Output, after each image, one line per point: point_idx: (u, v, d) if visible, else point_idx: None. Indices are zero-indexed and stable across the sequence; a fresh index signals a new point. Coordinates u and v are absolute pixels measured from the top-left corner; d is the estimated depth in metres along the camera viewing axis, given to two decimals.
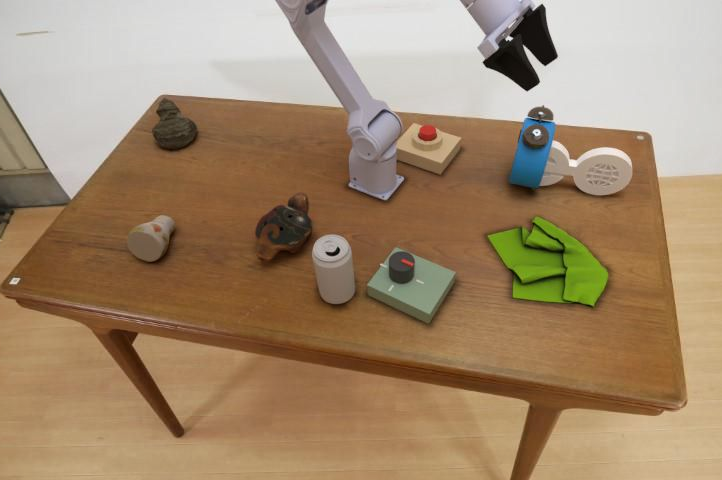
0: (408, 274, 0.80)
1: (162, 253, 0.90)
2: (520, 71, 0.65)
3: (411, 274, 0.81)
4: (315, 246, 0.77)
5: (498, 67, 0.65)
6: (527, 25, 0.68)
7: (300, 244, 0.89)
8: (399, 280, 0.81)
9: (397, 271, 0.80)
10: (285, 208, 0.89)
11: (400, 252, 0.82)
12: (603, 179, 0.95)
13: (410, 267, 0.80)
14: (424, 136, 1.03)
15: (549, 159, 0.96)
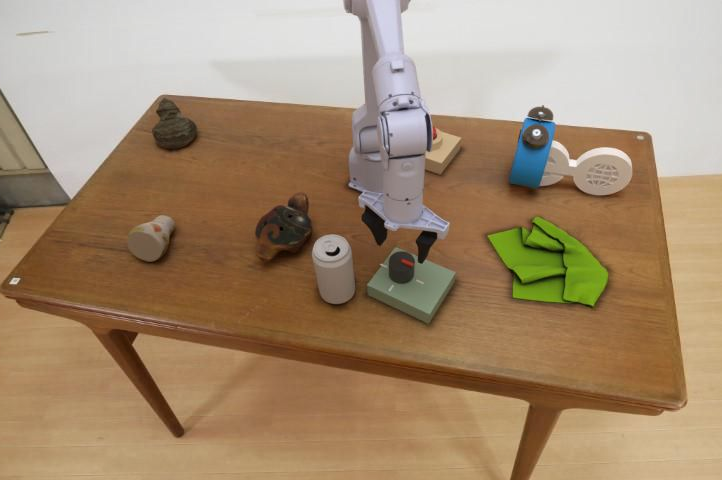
0: (408, 274, 0.80)
1: (162, 253, 0.90)
2: None
3: (411, 274, 0.81)
4: (315, 246, 0.77)
5: None
6: None
7: (300, 244, 0.89)
8: (399, 280, 0.81)
9: (397, 271, 0.80)
10: (285, 208, 0.89)
11: (400, 252, 0.82)
12: (603, 179, 0.95)
13: (410, 267, 0.80)
14: None
15: (549, 159, 0.96)
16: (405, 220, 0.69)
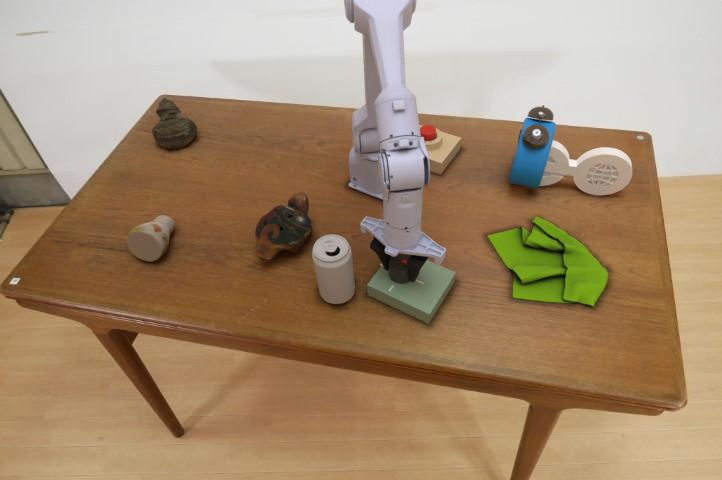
0: (408, 274, 0.80)
1: (162, 253, 0.90)
2: None
3: None
4: (315, 246, 0.77)
5: None
6: None
7: (300, 244, 0.89)
8: (399, 280, 0.81)
9: (396, 271, 0.80)
10: (285, 208, 0.89)
11: None
12: (603, 179, 0.95)
13: None
14: (424, 136, 1.03)
15: (549, 159, 0.96)
16: (404, 246, 0.74)
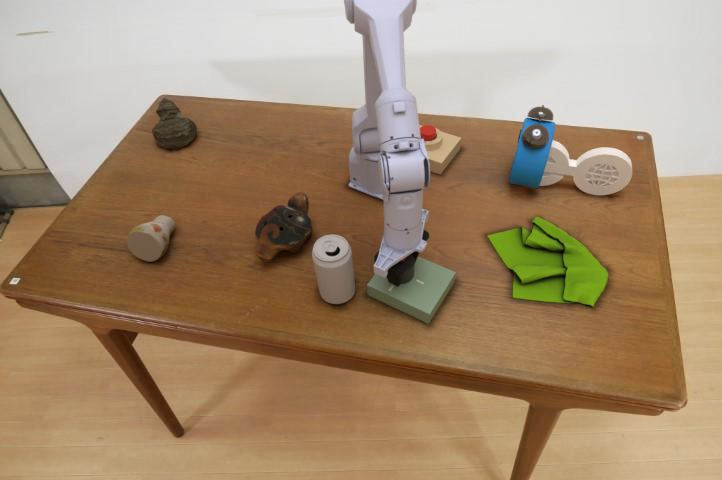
0: None
1: (162, 253, 0.90)
2: (393, 275, 0.79)
3: None
4: (315, 246, 0.77)
5: None
6: None
7: (300, 244, 0.89)
8: None
9: (414, 266, 0.80)
10: (285, 208, 0.89)
11: None
12: (603, 179, 0.95)
13: None
14: (424, 136, 1.03)
15: (549, 159, 0.96)
16: None
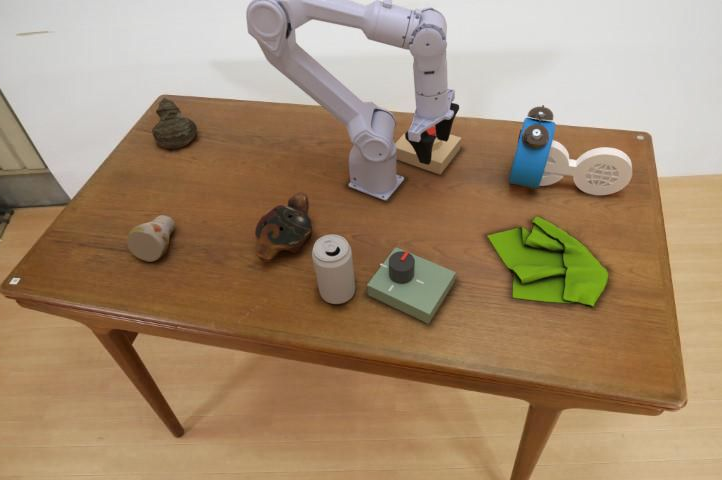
0: None
1: (162, 253, 0.90)
2: (423, 152, 0.90)
3: None
4: (315, 246, 0.77)
5: (412, 143, 0.88)
6: None
7: (300, 244, 0.89)
8: None
9: (414, 266, 0.80)
10: (285, 208, 0.89)
11: (390, 262, 0.81)
12: (603, 179, 0.95)
13: (409, 254, 0.82)
14: None
15: (549, 159, 0.96)
16: (447, 104, 0.87)
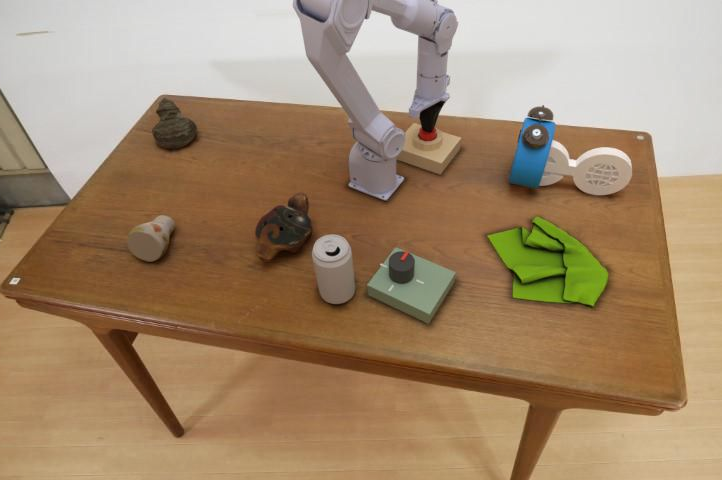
0: None
1: (162, 253, 0.90)
2: (427, 120, 1.01)
3: None
4: (315, 246, 0.77)
5: None
6: None
7: (300, 244, 0.89)
8: None
9: (414, 266, 0.80)
10: (285, 208, 0.89)
11: (390, 262, 0.81)
12: (603, 179, 0.95)
13: (409, 254, 0.82)
14: (424, 136, 1.03)
15: (549, 159, 0.96)
16: None
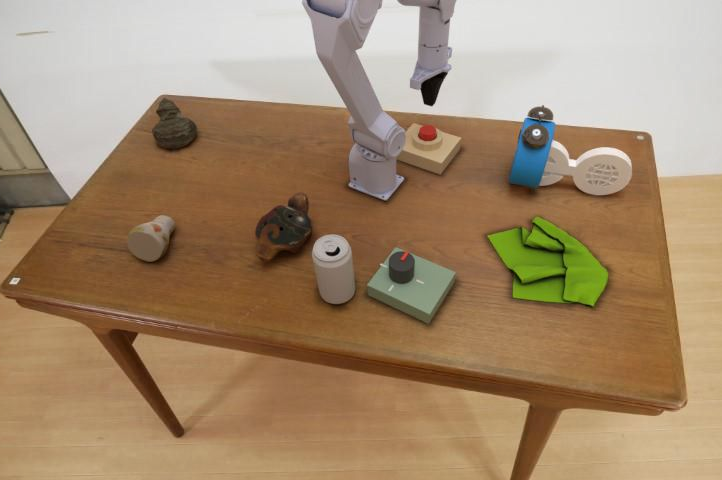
0: None
1: (162, 253, 0.90)
2: (428, 93, 1.00)
3: None
4: (315, 246, 0.77)
5: None
6: None
7: (300, 244, 0.89)
8: None
9: (414, 266, 0.80)
10: (285, 208, 0.89)
11: (390, 262, 0.81)
12: (603, 179, 0.95)
13: (409, 254, 0.82)
14: (424, 136, 1.03)
15: (549, 159, 0.96)
16: None
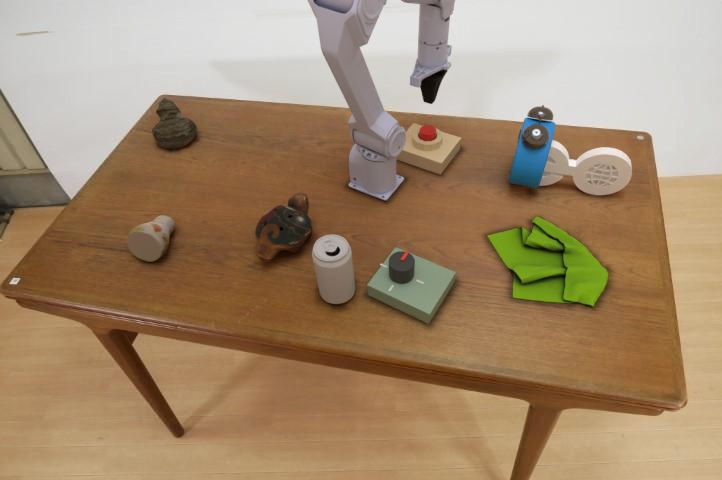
0: None
1: (162, 253, 0.90)
2: (428, 91, 1.01)
3: None
4: (315, 246, 0.77)
5: None
6: None
7: (300, 244, 0.89)
8: None
9: (414, 266, 0.80)
10: (285, 208, 0.89)
11: (390, 262, 0.81)
12: (603, 179, 0.95)
13: (409, 254, 0.82)
14: (424, 136, 1.03)
15: (549, 159, 0.96)
16: None
